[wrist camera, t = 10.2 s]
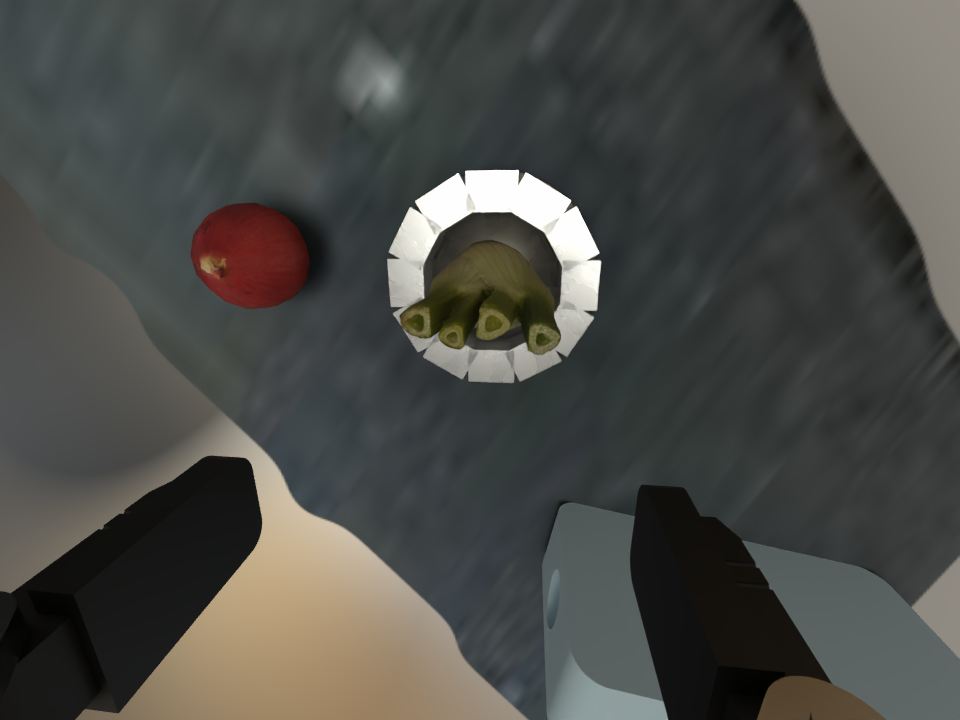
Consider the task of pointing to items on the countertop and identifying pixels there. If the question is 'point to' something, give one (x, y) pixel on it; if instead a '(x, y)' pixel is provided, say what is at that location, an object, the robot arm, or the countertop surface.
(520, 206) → the white low ring
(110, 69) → the countertop surface
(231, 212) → the onion
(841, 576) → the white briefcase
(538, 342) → the fennel bulb
